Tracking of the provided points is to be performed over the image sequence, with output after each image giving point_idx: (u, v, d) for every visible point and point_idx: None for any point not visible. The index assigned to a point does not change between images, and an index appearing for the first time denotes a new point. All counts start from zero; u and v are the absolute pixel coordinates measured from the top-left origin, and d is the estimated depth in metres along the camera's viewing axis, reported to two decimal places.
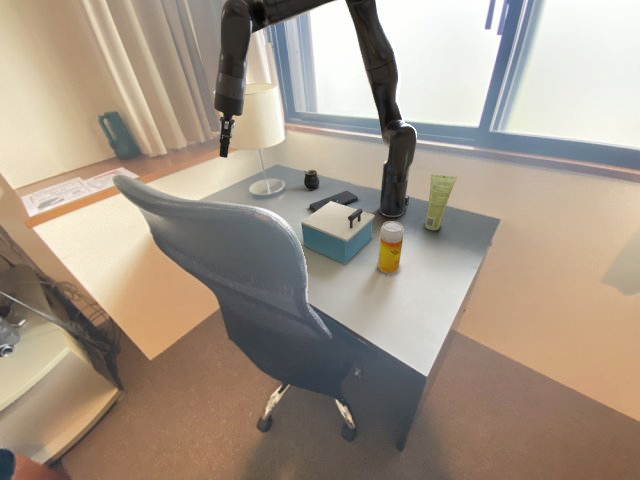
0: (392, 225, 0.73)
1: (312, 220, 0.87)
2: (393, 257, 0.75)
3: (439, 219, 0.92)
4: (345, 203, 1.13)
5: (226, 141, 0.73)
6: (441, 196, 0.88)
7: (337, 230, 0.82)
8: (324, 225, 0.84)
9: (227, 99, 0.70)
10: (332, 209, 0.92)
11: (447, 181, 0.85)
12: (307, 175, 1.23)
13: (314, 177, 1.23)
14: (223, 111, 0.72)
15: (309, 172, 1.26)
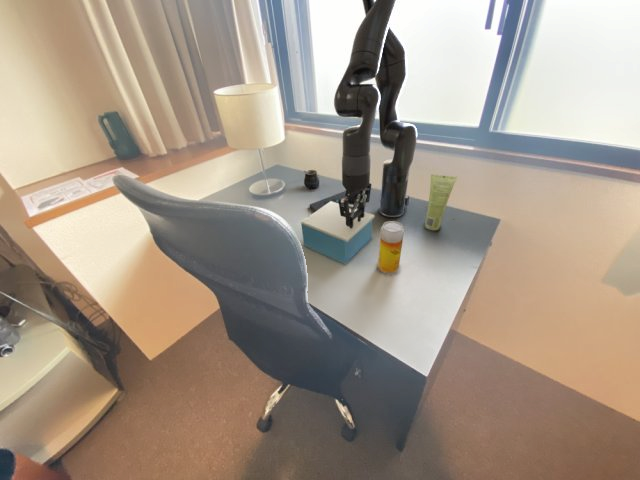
0: (392, 225, 0.73)
1: (312, 220, 0.87)
2: (393, 257, 0.75)
3: (439, 219, 0.92)
4: None
5: None
6: (441, 196, 0.88)
7: (337, 230, 0.82)
8: (324, 225, 0.84)
9: None
10: (332, 209, 0.92)
11: (447, 181, 0.85)
12: (307, 175, 1.23)
13: (314, 177, 1.23)
14: None
15: (309, 172, 1.26)
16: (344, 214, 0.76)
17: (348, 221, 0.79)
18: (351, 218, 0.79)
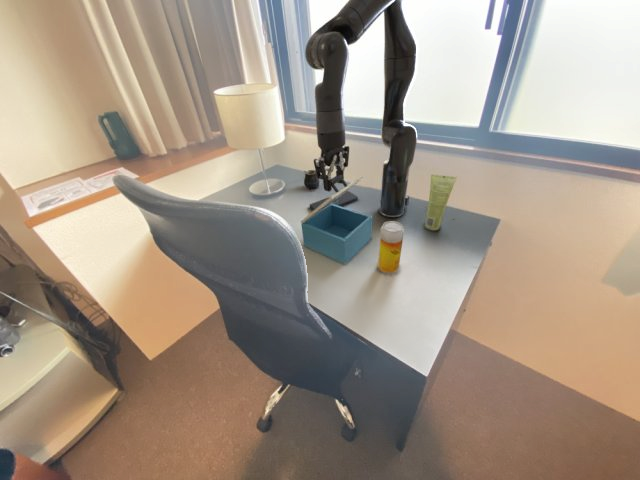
0: (392, 225, 0.73)
1: None
2: (393, 257, 0.75)
3: (439, 219, 0.92)
4: (345, 203, 1.13)
5: None
6: (441, 196, 0.88)
7: None
8: None
9: None
10: None
11: (447, 181, 0.85)
12: (307, 175, 1.23)
13: (314, 177, 1.23)
14: None
15: (309, 172, 1.26)
16: (320, 176, 0.75)
17: (326, 184, 0.77)
18: (328, 181, 0.77)
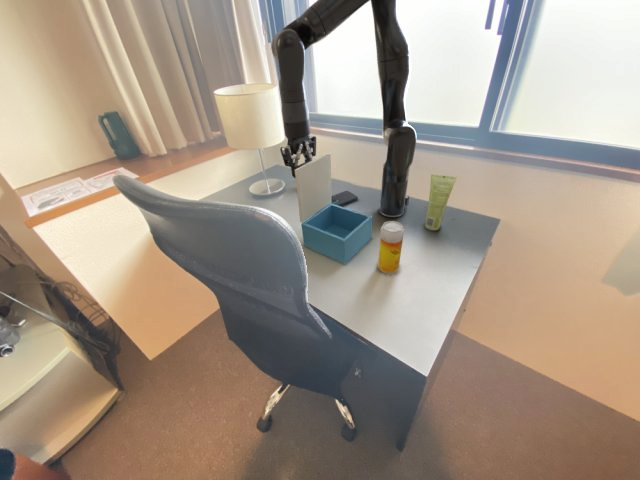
0: (392, 225, 0.73)
1: None
2: (393, 257, 0.75)
3: (439, 219, 0.92)
4: (345, 203, 1.13)
5: None
6: (441, 196, 0.88)
7: None
8: None
9: None
10: None
11: (447, 181, 0.85)
12: None
13: None
14: None
15: None
16: (288, 163, 0.81)
17: (293, 172, 0.83)
18: (296, 168, 0.83)
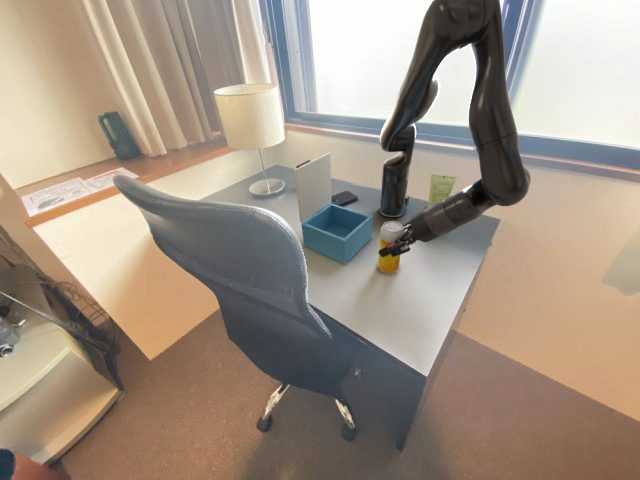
0: (392, 225, 0.73)
1: None
2: (393, 257, 0.75)
3: None
4: (345, 203, 1.13)
5: None
6: (441, 196, 0.88)
7: None
8: None
9: None
10: None
11: (447, 181, 0.85)
12: None
13: None
14: None
15: None
16: (392, 252, 0.70)
17: (385, 253, 0.73)
18: None
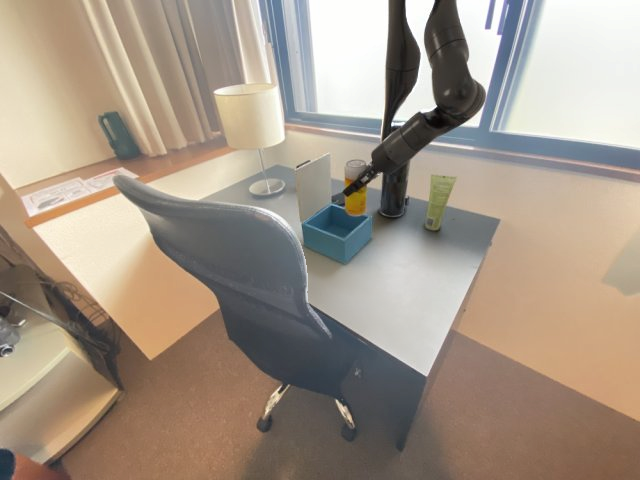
0: (356, 162, 0.72)
1: None
2: (358, 196, 0.74)
3: (439, 219, 0.92)
4: None
5: None
6: (441, 196, 0.88)
7: None
8: None
9: None
10: None
11: (447, 181, 0.85)
12: None
13: None
14: None
15: None
16: (354, 187, 0.69)
17: (349, 191, 0.72)
18: (354, 190, 0.72)
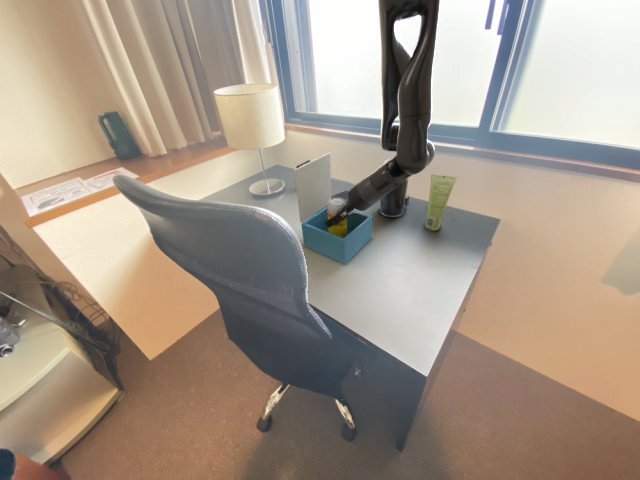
0: (336, 200, 0.84)
1: None
2: (339, 229, 0.86)
3: (439, 219, 0.92)
4: None
5: None
6: (441, 196, 0.88)
7: None
8: None
9: None
10: None
11: (447, 181, 0.85)
12: None
13: None
14: None
15: None
16: (334, 221, 0.80)
17: (330, 223, 0.83)
18: None
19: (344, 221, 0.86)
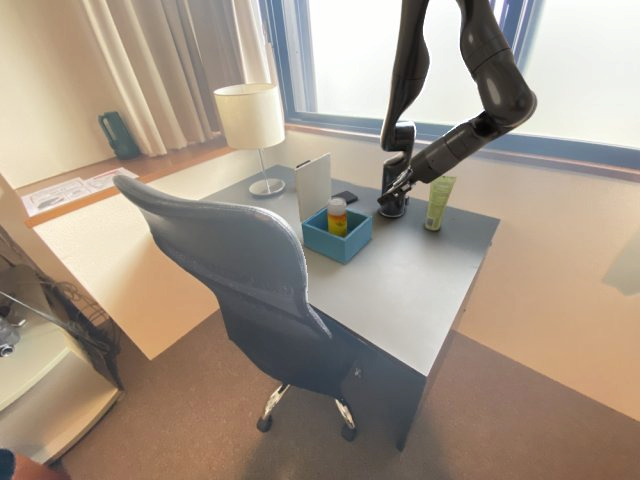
0: (336, 200, 0.84)
1: None
2: (339, 229, 0.86)
3: (439, 219, 0.92)
4: None
5: None
6: (441, 196, 0.88)
7: None
8: None
9: None
10: None
11: (447, 181, 0.85)
12: None
13: None
14: None
15: None
16: (392, 196, 0.66)
17: (385, 200, 0.69)
18: (390, 199, 0.69)
19: (344, 221, 0.86)
